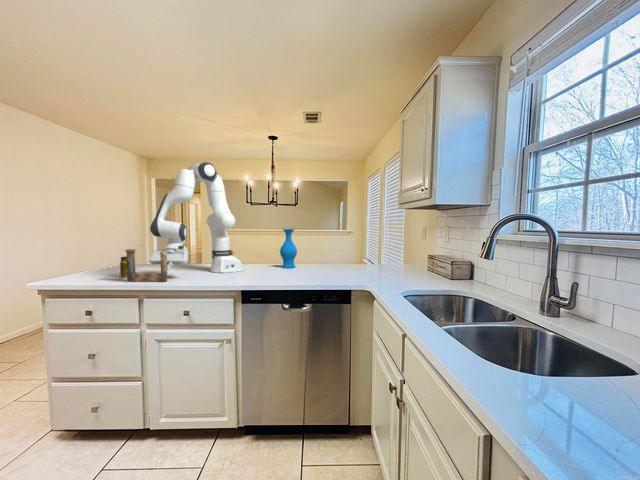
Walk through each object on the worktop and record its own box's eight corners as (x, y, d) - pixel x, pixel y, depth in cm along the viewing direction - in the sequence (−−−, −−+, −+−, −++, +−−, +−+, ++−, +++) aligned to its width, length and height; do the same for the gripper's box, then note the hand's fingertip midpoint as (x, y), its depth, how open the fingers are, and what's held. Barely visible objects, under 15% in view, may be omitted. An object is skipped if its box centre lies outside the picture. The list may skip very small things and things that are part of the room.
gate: (127, 281, 154) (125, 250, 152) (130, 279, 157) (129, 249, 156) (165, 281, 154) (164, 250, 153) (168, 280, 157) (167, 250, 156)
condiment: (133, 277, 167) (132, 257, 166) (115, 278, 162) (115, 258, 162) (133, 275, 173) (132, 255, 172) (116, 276, 168) (115, 256, 168)
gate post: (136, 279, 161) (135, 249, 160) (136, 280, 157) (135, 249, 156) (127, 279, 159) (126, 249, 158) (126, 281, 155) (125, 250, 154)
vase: (276, 267, 208) (276, 229, 206) (290, 265, 216) (290, 228, 214) (286, 269, 199) (286, 229, 197) (300, 267, 207) (300, 229, 205)
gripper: (152, 246, 164) (143, 266, 154) (188, 246, 164) (181, 266, 155) (156, 253, 168) (148, 272, 159) (191, 253, 169) (184, 272, 160)
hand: (164, 269), depth 157 cm, fingers closed
